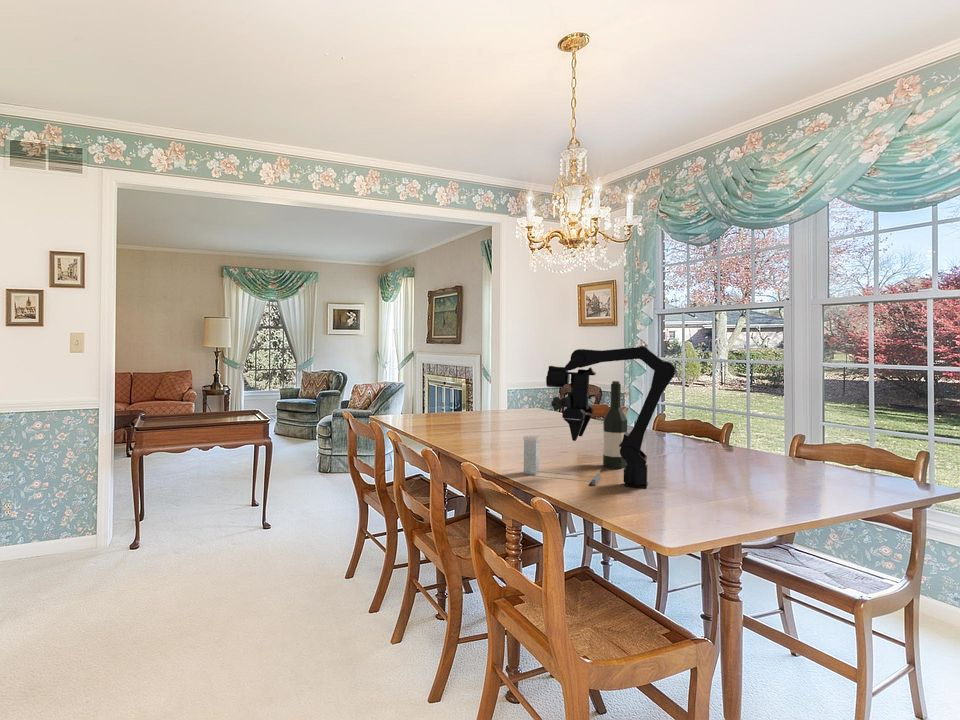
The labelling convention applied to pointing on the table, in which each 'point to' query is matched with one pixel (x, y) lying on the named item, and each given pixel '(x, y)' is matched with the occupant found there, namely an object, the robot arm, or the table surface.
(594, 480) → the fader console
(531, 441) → the post
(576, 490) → the table surface
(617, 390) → the wine bottle
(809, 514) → the table surface
